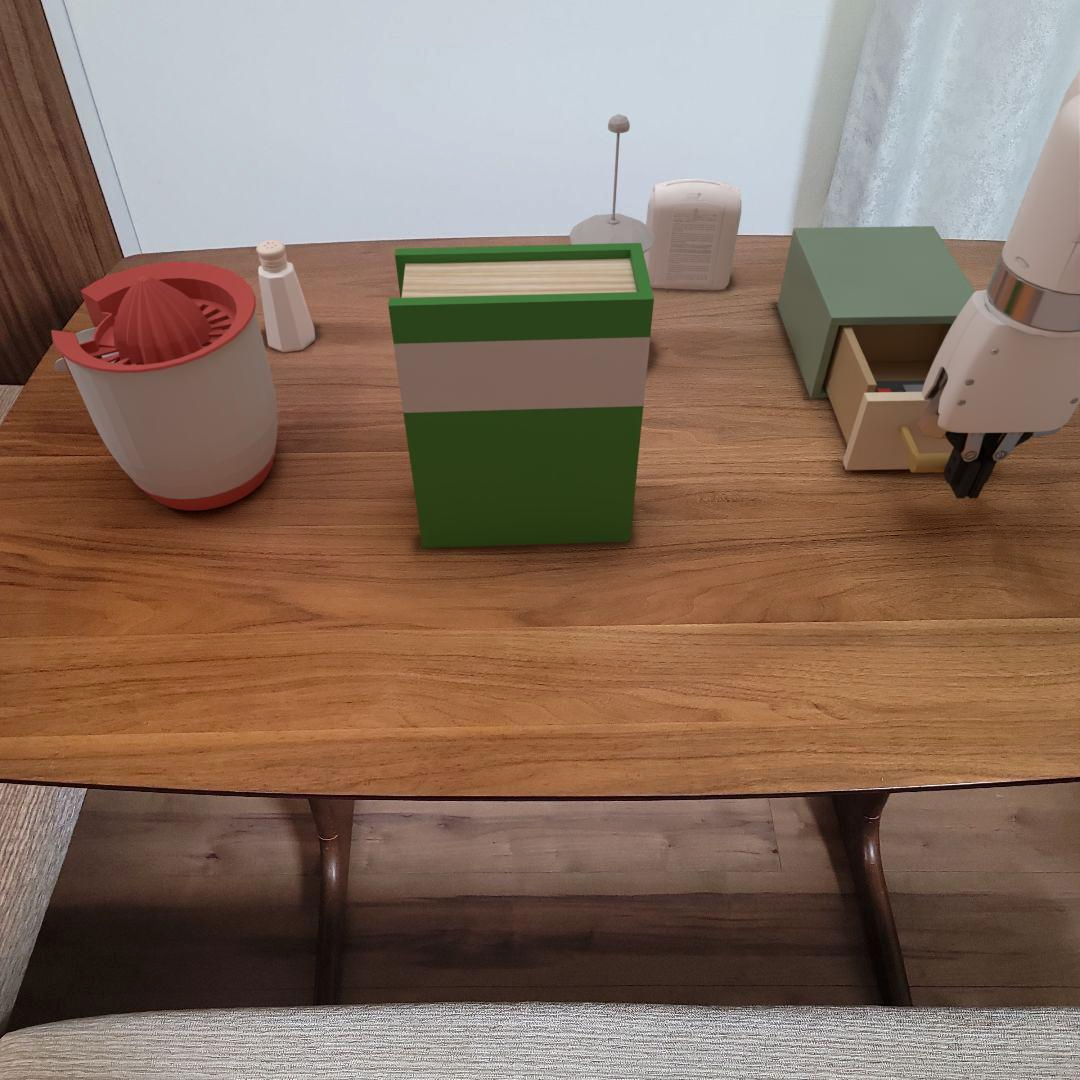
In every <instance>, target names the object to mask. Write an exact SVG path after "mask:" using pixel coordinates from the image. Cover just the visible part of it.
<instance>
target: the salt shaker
mask: <svg viewBox="0 0 1080 1080" xmlns="http://www.w3.org/2000/svg"><path fill="white" fill-rule="evenodd" d="M255 250H256V253H257V254H258V259H259V262H260V266H258V283H259V289H260V290H259V291H260V297H261V304H262V311H263V319H264V324H265V333H266V340H267V341H266V342H267V346H268V347H269V348H272V349H274V350H276V351H278V352H281V353H291V352H298V351H299V352H300V351H303V350H304V349H305V348H307V347H308V346H310V345H311V344H313V343H314V342H315V341H316V329H315V326H314V323H313V320H312V317H311V314H310V311H309V308H308V305H307V301H306V299H305V296H304V293H303V290H302V287H301V284H300V281H299V278H298V274H297V272H296V269H295V266H294V264H293V263H292V262H290V261H288V260H287V259H288V256H287V253H286V244H285V243H284V242H282V241H281V240H278V239H268V240H263V241H262V242H260V243H259V244H258V245H257V246H256V249H255Z"/></svg>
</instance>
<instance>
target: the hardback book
mask: <svg viewBox="0 0 1080 1080" xmlns="http://www.w3.org/2000/svg"><path fill="white" fill-rule="evenodd" d="M394 259H395V266H396V267H395V268H396V274H397V284H398V291H399V297H389V298H388V305H387V306H388V313H389V320H390V328H391V335H392V342H393V350H394V357H395V364H396V371H397V378H398V385H399V392H400V398H401V406H402V413H403V420H404V428H405V434H406V442H407V448H408V457H409V463H410V470H411V477H412V485H413V491H414V499H415V506H416V512H417V521H418V527H419V535H420V541H421V543H420V544H421V547H422V549H428V548H429V549H431V548H461V547H463V548H465V547H489V546H490V547H492V546H493V547H494V546H520V545H523V546H525V545H527V546H528V545H553V544H587V543H616V542H617V543H618V542H619V543H620V542H621V543H623V542H631V535H632V527H633V526H632V525H633V518H634V517H633V515H634V505H635V495H636V487H637V486H636V485H637V477H638V466H639V464H638V463H639V454H640V445H641V434H642V425H643V424H642V423H643V416H644V415H643V414H644V406H645V404H644V403H645V393H646V384H647V375H648V365H649V364H648V363H649V356H650V355H649V354H650V342H651V334H652V323H653V315H654V314H653V313H654V304H655V303H654V302H655V298H654V297H655V296H654V293H653V289H652V288H653V287H651V284H650V279H649V275H648V271H647V266H646V262H645V258H644V253H643V249H642V244H641V243H615V244H544V245H543V244H538V245H537V244H536V245H535V244H533V245H494V246H493V245H492V246H451V247H448V246H447V247H409V248H407V247H406V248H405V247H404V248H395V251H394Z"/></svg>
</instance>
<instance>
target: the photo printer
mask: <svg viewBox="0 0 1080 1080" xmlns="http://www.w3.org/2000/svg"><path fill="white" fill-rule="evenodd" d="M741 195H742V194H741V192H740V188H739V187H737V186H735V185H733V184H731V183H727V182H723V181H720V180H715V179H709V178H695V177H693V178H690V177H689V178H678V179H671V180H667V181H662V182H659V183H657V184H654V185H653V188H652V193H651V195H650V196H649V199H648V202H647V209H646V211H647V212H646V222H645V225H646V226H648V227H649V228H650V229H652V231H653V234H654V236H655V240H654V243H653V245H652V247H651V248H650V249H649V250H647V251H646V252H645V253H644V258H645V262H646V266H647V271H648V275H649V279H650V284H651V288H655V289H669V290H693V291H695V290H698V291H701V290H702V291H721V290H726V288H727V286H728V285H729V283H730V278H731V274H732V273H731V272H732V267H733V261H734V255H735V251H736V245H737V239H738V234H739V227H740V222H741V218H742V217H741V216H742V197H741Z"/></svg>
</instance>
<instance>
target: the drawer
mask: <svg viewBox="0 0 1080 1080" xmlns="http://www.w3.org/2000/svg"><path fill="white" fill-rule="evenodd" d="M951 326H952V324H894V325H839V327H838V330H837V334H836V338H835V341H834V345H833V349H832V352H831V356H830V360H829V364H828V367H827V371H826V375H825V378H824V382H823V383H824V385H825V388H826V391H827V393H828V396H829V398H828V399H829V401H830V404H831V406H832V410H833V412H834V414H835V417H836V420H837V422H838V424H839V428H840V430H841V432H842V435H843V438H844V441H845V443H846V445H847V446H846V450H845V453H844V455H843V459H842V463H843V467H844V468H845V471H871V470H872V471H874V470H875V471H876V470H877V471H878V470H880V471H881V470H909V471H910V472H911V473H944V469H945V466H946V464H947V462H948V459H949V457H950V455H951V452H952V450H953V448H954V447H953V446H952V445H951V444H950V442H949V441H948V440H947V439H944V438H942V439H938V438H933V437H928V436H924V435H923V434H922V433H921V431H920V429H919V427H918V424H917V421H918V420H919V418H920V417H921V415H922V414H923V412H924V411H925V409H926V408H927V406H928V405H929V404H930V402H931V401H930V400H924V398H923V395H922V392H875V389H876V386H877V384H876V381H914V380H926V378H927V375H928V373H929V371H930V368H931V366H932V364H933V362H934V359H935V357H936V355H937V353H938V351H939V349H940V347H941V345H942V343H943V341H944V339H945V337H946V335H947V333H948V331H949V330H950V328H951ZM874 392H875V393H874ZM1000 466H1001V461H997V462H996V464H995V467H994V469H993V471H992V472H997V471H998V470H999V469H1000Z"/></svg>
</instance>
